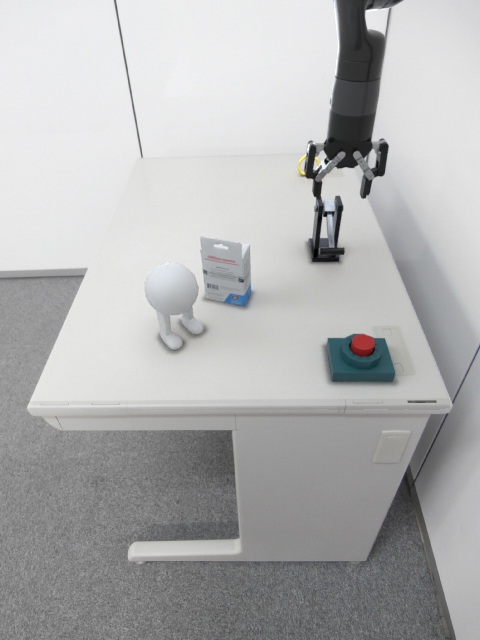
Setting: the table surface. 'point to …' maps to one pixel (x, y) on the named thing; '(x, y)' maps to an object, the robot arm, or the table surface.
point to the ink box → (226, 270)
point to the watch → (301, 160)
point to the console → (359, 361)
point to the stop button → (362, 345)
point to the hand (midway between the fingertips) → (340, 197)
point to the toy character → (173, 299)
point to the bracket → (316, 240)
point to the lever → (330, 230)
